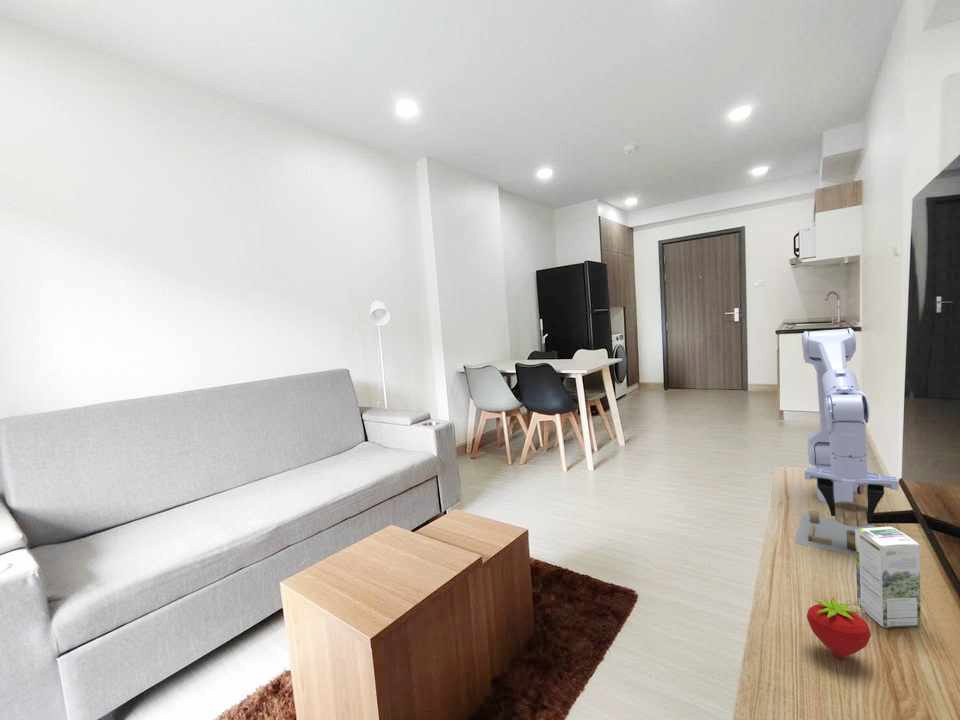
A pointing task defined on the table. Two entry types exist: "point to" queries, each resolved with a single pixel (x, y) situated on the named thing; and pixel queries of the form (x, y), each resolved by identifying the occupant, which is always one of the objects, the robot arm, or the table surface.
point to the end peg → (851, 540)
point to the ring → (851, 514)
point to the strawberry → (838, 627)
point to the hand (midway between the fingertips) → (851, 516)
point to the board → (824, 533)
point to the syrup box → (888, 576)
